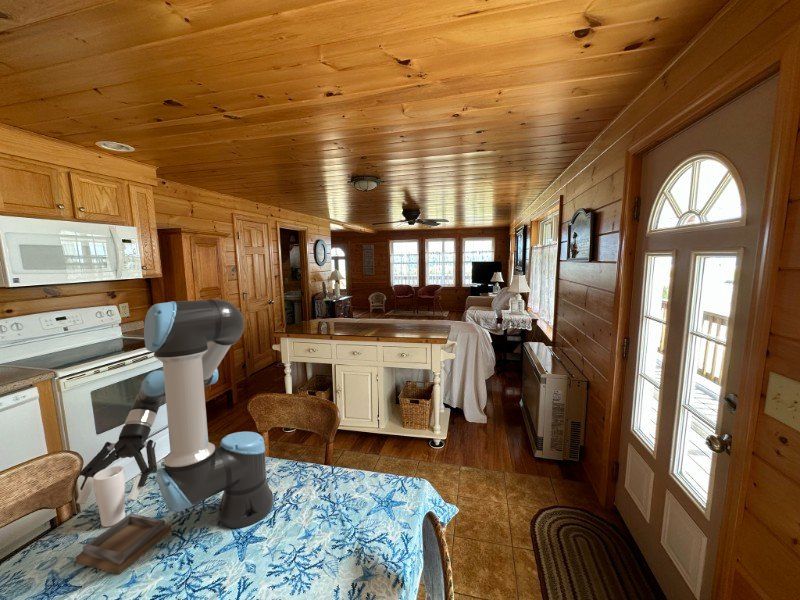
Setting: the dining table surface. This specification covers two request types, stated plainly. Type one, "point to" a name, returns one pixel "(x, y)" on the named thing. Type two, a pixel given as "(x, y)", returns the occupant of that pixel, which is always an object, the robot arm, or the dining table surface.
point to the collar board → (123, 543)
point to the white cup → (110, 494)
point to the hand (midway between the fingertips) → (106, 501)
